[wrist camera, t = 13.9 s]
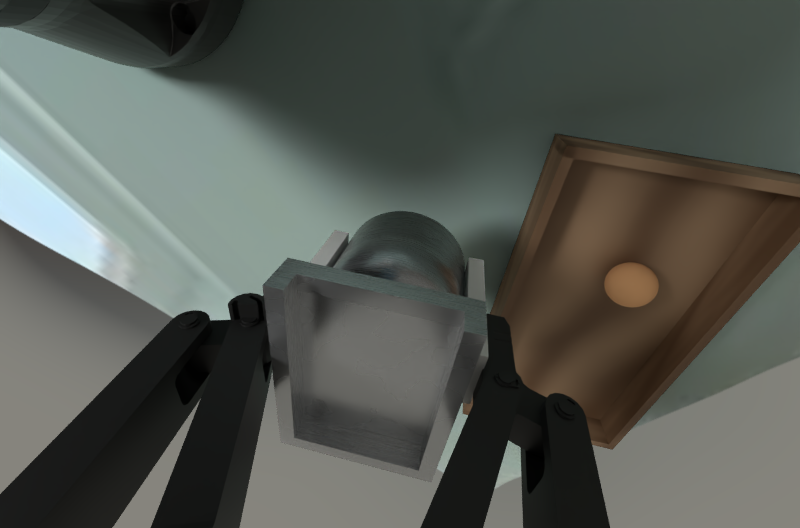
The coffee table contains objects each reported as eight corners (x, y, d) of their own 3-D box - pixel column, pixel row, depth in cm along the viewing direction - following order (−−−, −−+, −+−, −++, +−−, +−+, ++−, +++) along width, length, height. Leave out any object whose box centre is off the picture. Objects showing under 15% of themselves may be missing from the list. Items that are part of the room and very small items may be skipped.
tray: (463, 386, 34) (462, 413, 31) (555, 133, 20) (566, 145, 18) (601, 419, 33) (612, 449, 30) (796, 173, 19) (845, 192, 17)
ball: (667, 312, 21) (674, 269, 22) (624, 293, 20) (634, 250, 21) (627, 315, 24) (635, 277, 24) (589, 298, 23) (599, 260, 24)
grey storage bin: (345, 308, 21) (278, 441, 14) (352, 184, 16) (259, 284, 9) (447, 332, 20) (433, 483, 13) (483, 210, 16) (491, 337, 9)
